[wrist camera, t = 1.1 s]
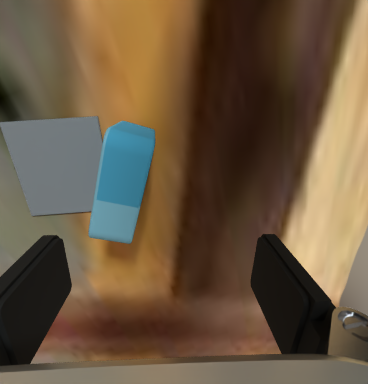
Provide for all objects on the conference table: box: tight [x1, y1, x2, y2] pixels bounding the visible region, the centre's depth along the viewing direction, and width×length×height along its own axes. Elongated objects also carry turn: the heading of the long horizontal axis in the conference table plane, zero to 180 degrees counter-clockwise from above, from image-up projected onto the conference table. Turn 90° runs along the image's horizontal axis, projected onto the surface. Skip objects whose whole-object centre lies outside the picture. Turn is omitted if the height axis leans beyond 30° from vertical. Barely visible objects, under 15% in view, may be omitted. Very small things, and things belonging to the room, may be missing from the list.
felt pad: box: [0, 116, 103, 216], centre depth 32 cm, size 13×14×1 cm
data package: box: [89, 121, 155, 244], centre depth 26 cm, size 12×4×12 cm, turn 164°
